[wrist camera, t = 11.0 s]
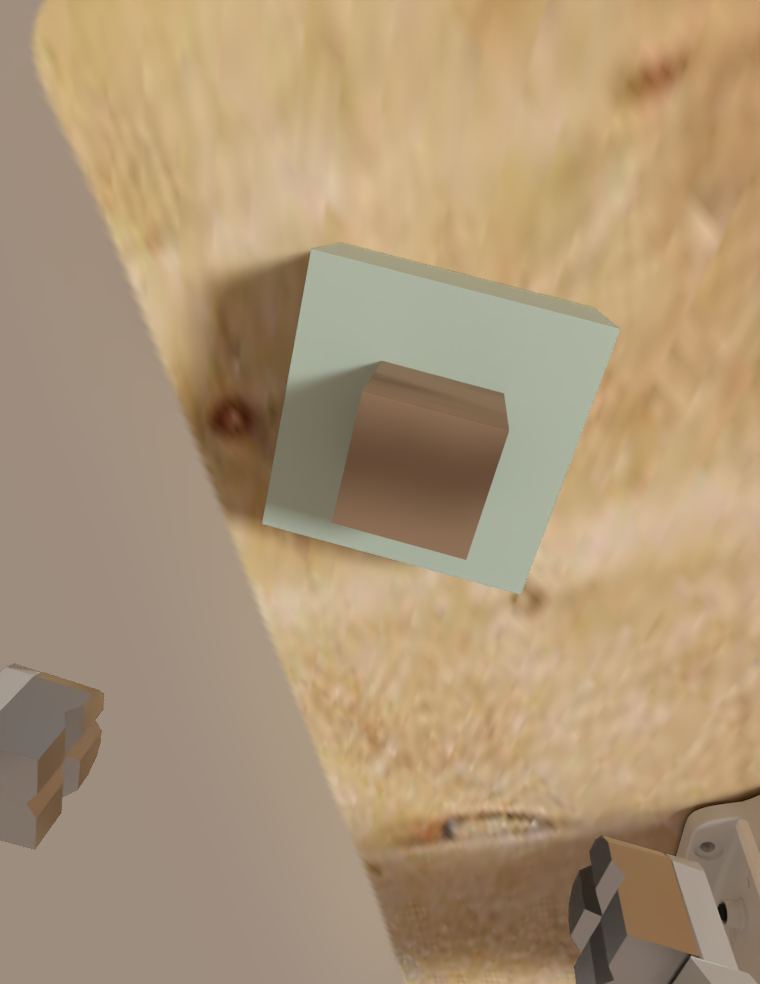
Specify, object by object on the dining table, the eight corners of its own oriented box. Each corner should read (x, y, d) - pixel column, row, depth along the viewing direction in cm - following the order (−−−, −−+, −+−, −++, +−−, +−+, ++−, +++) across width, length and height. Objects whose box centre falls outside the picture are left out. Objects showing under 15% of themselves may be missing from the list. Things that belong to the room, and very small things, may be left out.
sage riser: (514, 535, 35) (521, 594, 30) (295, 476, 36) (262, 523, 30) (595, 307, 31) (620, 329, 25) (340, 242, 31) (311, 248, 25)
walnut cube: (468, 504, 29) (466, 560, 24) (354, 473, 29) (331, 522, 24) (503, 393, 27) (509, 430, 22) (382, 360, 27) (362, 391, 22)
